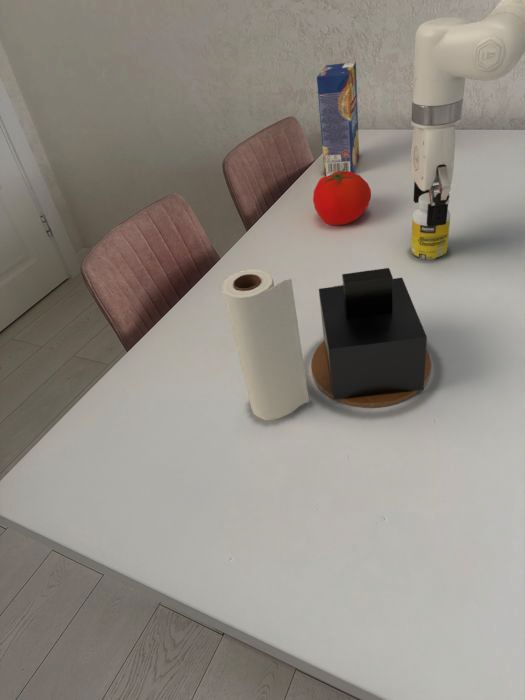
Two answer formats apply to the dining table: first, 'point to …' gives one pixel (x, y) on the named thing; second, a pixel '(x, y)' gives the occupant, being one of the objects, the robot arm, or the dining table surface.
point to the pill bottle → (428, 234)
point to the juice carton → (339, 117)
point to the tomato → (341, 197)
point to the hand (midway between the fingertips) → (429, 212)
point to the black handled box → (370, 342)
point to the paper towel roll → (267, 342)
